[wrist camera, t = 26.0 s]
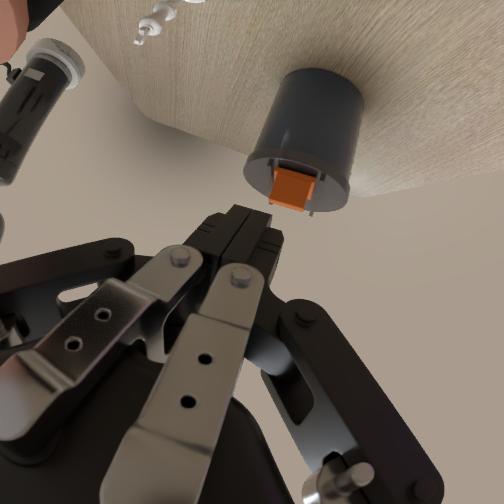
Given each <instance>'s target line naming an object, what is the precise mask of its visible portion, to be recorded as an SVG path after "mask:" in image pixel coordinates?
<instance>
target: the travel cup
mask: <svg viewBox="0 0 504 504" xmlns="http://www.w3.org/2000/svg"><path fill="white" fill-rule="evenodd" d="M363 110H364V102H363V98H362V96H361V94H360V92H359V91H358V90H357V88H356V87H355V86H354V85H353V84H352V83H351V82H349V81H348V80H347V79H345V78H344V77H342V76H340V75H338V74H336V73H333V72H330V71H327V70H323V69H316V68H306V69H300V70H296V71H294V72H292V73H290V74H288V75H287V76H286V77H285V78H284V79H283V80H282V82H281V84H280V87H279V89H278V91H277V94H276V96H275V99H274V101H273V104H272V106H271V108H270V111H269V113H268V116H267V118H266V121H265V123H264V126H263V128H262V131H261V133H260V136H259V138H258V141H257V144H256V146H255V149H254V151H253V153H251V154H250V155H249V157H248V158H247V161H246V163H245V166H244V169H243V173H244V177H245V179H246V180H247V182H248V183H249V184H250V185H251V186H252V187H253V188H254V189H256V190H257V191H258V192H260V193H261V194H263V195H265V196H267V197H268V198H269V196H270V193H271V190H272V187H273V184H274V170H275V167H280V168H283V169H287V170H291V171H294V172H298V173H301V174H305V175H308V176H312V177H315V178H316V182H315V185H314V189H313V192H312V196H311V200H308V199H307V200H306V203H305V207H304V210H307V211H310V214H309V216H313V213H314V212H330V211H336V210H339V209H341V208H343V207H344V206H345V205H346V203H347V201H348V197H349V193H350V186H349V179H350V175H351V170H352V165H353V161H354V156H355V151H356V147H357V142H358V137H359V132H360V126H361V121H362V116H363ZM269 204H271V205H272V204H273V203H270V202H269Z"/></svg>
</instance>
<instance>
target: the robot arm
mask: <svg viewBox="0 0 504 504" xmlns="http://www.w3.org/2000/svg"><path fill="white" fill-rule="evenodd" d="M0 65H4V66H6V67H7V69H8V70H7V76H8V77H7V78H6V80H7V81H8V82H9V83H10V84H11V86H10V88H9V89H8V91H7V92H6V94H5V95H4V97H3V98H2V100H1V102H0V186H9V185H11V184H12V183H13V181H14V179H15V177H16V175H17V173H18V170H19V169H20V167H21V165H22V163H23V160H24V159H25V157H26V154H27V153H28V151H29V149H30V147H31V145H32V143H33V141H34V139H35V138H36V136H37V134H38V132H39V131H40V129H41V127H42V125H43V124H44V122H45V120H46V118H47V117H48V115H49V113H50V112H51V111H52V109H53V107H54V106H55V104H56V103H57V101H58V100H59V98H60V97H61V95H62V93H63V92H64V91H65V89H66V88H67V87H68V86H69V84H70V83H71V81H72V75H71V72H70V70H69V69H68V68H67V66H66V65H65V64H64V63H63V62H62V61H60V60H59V59H57V58H56V57H54V56H52V55H49V54H46V53H36V54H34V55H33V56H32V57H31V59H30V60H29V62H28V63H27V64H26V66H25V67H24V68H23V70H21V69H20V68H17V69H13V70H12V71H11V65H10V64H9V63H8V62H5V63H2V64H0ZM271 221H272V215H271V214H268V213H264V212H261V211H257V210H253V209H250V208H247V207H243V206H239V205H236V204H234V205H233V206H232V208H231V209H230V210H229V211H228V212H227V213H226V214H222V213H216V214H213V215H211V216H208V217H207V218H206V219H205V220H204V222H202V224H201V225H200V226H199V227H198V228H197V230H195V231H194V232H193V233H192V234H191V235H190V236H189V238H188V239H187V240H186V241H185V242H184V243H183V244H182V245H171V246H168V247H166V248H164V249H162V250H161V251H160V252H159V253H158V254H157V255H155V256H154V257H152V256H142V255H135V253H134V246H133V244H132V243H131V242H130V241H128V240H126V239H122V238H108V239H103V240H99V241H95V242H91V243H86V244H82V245H78V246H73V247H69V248H65V249H61V250H57V251H53V252H49V253H45V254H41V255H37V256H33V257H29V258H25V259H21V260H17V261H14V262H10V263H6V264H2V265H0V504H295V503H294V502H293V499H292V497H291V495H290V493H289V491H288V489H287V487H286V484H285V482H284V480H283V478H282V476H281V474H280V471H279V469H278V467H277V465H276V462H275V460H274V458H273V456H272V453H271V451H270V449H269V447H268V445H267V442H266V440H265V437H264V435H263V433H262V431H261V429H260V427H259V425H258V423H257V421H256V420H255V418H254V417H253V416H252V414H251V413H250V412H249V411H248V409H247V408H246V407H244V405H243V404H242V403H240V402H239V401H238V400H237V399H235V398H234V397H233V394H234V391H235V387H236V384H237V381H238V377H239V374H240V371H241V367H242V364H243V360H244V358H246V359H247V360H249V361H250V362H252V363H253V364H255V365H256V366H258V367H259V368H261V376H262V379H263V381H264V383H265V385H266V387H267V389H268V391H269V393H270V395H271V397H272V399H273V401H274V403H275V405H276V407H277V409H278V411H279V413H280V415H281V417H282V418H283V421H284V422H285V424H286V426H287V428H288V430H289V432H290V434H291V436H292V438H293V439H294V442H295V443H296V445H297V447H298V449H299V451H300V453H301V455H302V456H303V458H304V460H305V462H306V464H307V466H308V468H309V469H310V471H311V473H312V474H311V475H310V476H309V477H308V478H307V479H306V481H305V482H304V484H303V487H302V499H303V502H304V504H441V502H442V500H443V497H444V482H443V480H442V477H441V475H440V474H439V472H438V470H437V469H436V468H435V466H434V464H433V463H432V462H431V460H430V459H429V457H428V455H427V454H426V453H425V451H424V450H423V448H422V447H421V445H420V444H419V442H418V441H417V439H416V438H415V436H414V435H413V433H412V432H411V430H410V429H409V427H408V426H407V425H406V423H405V422H404V420H403V419H402V417H401V416H400V415H399V413H398V412H397V410H396V409H395V407H394V406H393V404H392V403H391V401H390V400H389V399H388V397H387V396H386V394H385V393H384V392H383V390H382V389H381V387H380V386H379V384H378V383H377V381H376V380H375V379H374V378H373V376H372V374H371V373H370V372H369V370H368V369H367V367H366V366H365V365H364V363H363V362H362V360H361V359H360V358H359V356H358V355H357V353H356V352H355V351H354V349H353V348H352V346H351V345H350V344H349V342H348V341H347V339H346V338H345V337H344V335H343V334H342V333H341V331H340V330H339V328H338V327H337V326H336V324H335V323H334V322H333V320H332V319H331V318H330V316H329V315H328V313H327V312H326V311H325V310H324V309H323V308H322V307H321V306H319V305H318V304H316V303H314V302H312V301H309V300H304V299H294V300H290V301H288V302H287V303H285V302H284V301H282V300H280V299H279V298H278V297H276V296H275V295H274V294H273V293H272V291H271V290H270V288H269V286H270V284H271V281H272V279H273V276H274V273H275V271H276V267H277V264H278V260H279V256H280V253H281V249H282V245H283V242H284V237H283V234H282V231H281V230H277V229H274V228H270V225H271ZM4 229H5V222H4V218H3V216H2V215H1V213H0V243H1V240H2V237H3V234H4ZM96 282H97V285H98V288H97V289H96V290H95V291H94V292H92V293H91V294H90V295H89V296H88V297H85V298H82V299H78V300H75V301H71V302H62V301H60V300H59V299H58V295H59V294H60V293H61V292H63V291H66V290H70V289H74V288H77V287H81V286H85V285H89V284H93V283H96Z"/></svg>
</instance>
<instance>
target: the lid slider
mask: <svg viewBox="0 0 504 504" xmlns="http://www.w3.org/2000/svg"><path fill="white" fill-rule="evenodd" d="M315 182H316V178H315V177H312V176H308V175H305V174H301V173H298V172H294V171H291V170H287V169H283V168H280V167H275V170H274V184H273V187H272V190H271V193H270V196H269V202H270V203H274V204H277V205H281V206H284V207H287V208H291V209H294V210H298V211H301V212H303V210H304V207H305V203H306V200H307V199H308V200H311V196H312V192H313V189H314V185H315Z"/></svg>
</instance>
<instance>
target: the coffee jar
mask: <svg viewBox="0 0 504 504" xmlns="http://www.w3.org/2000/svg"><path fill="white" fill-rule="evenodd" d="M63 1H64V0H0V64H2V63H5V62H8V61H9V60H10V58H11V57H12V56H13V54H14V53H15V52H16V51H17V50H18V48H19V47H20V45H21V44H22V43H23V41H24V40H25V37H26V33H27V32H29V31H32V30H34V29H35V28H36V27H38V26H39V25H40V24H41V23H42V22H43V21H44V20H45V19H46V18H47V17H48V16H49V15H50V14H51V13H52V12H53V11H54V10H55V9H56V8H57V7H58V6H59V5H60V4H61V3H62V2H63Z"/></svg>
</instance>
